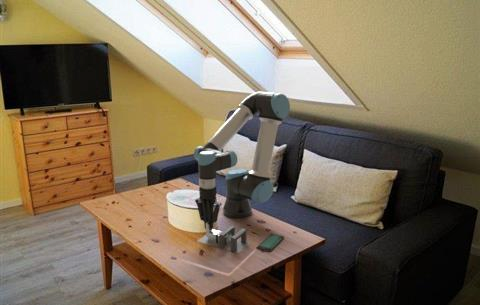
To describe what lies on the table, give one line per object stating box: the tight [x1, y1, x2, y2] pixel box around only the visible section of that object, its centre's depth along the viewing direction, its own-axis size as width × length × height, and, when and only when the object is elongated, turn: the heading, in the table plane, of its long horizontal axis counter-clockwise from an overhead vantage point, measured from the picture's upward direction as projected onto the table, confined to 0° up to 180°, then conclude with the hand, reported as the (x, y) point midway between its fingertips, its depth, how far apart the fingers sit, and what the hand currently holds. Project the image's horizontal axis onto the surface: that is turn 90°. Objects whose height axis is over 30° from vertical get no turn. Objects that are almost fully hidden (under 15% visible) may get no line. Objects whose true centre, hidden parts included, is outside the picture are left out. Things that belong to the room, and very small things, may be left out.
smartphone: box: [255, 233, 285, 253], centre depth 176 cm, size 7×1×15 cm
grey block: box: [208, 228, 231, 246], centre depth 175 cm, size 10×4×4 cm, turn 59°
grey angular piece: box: [196, 225, 251, 254], centre depth 174 cm, size 10×22×7 cm, turn 60°
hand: (209, 235), depth 178 cm, fingers closed
